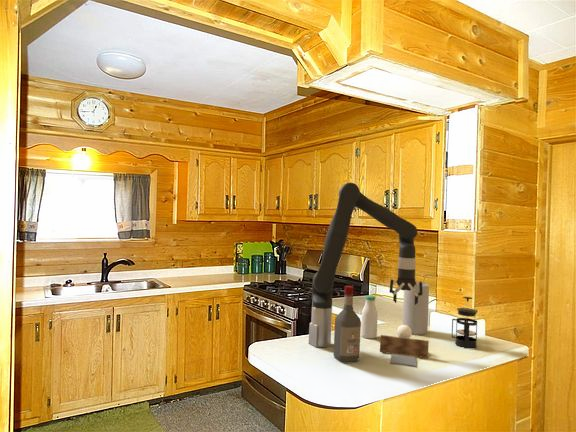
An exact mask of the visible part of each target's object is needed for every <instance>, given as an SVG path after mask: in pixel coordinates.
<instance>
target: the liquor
mask: <svg viewBox="0 0 576 432" xmlns="http://www.w3.org/2000/svg"><path fill="white" fill-rule="evenodd" d="M354 288H355V287H354V286H353V285H345V286H344V290H343V291H344V292H343V293H344V300H343V301H344V303H343V308H342V310H341V311H340V312H339V313H338V314H337V315H336V316H335V318H334V335H333V337H334V338H333V357H334V359H336V361H338V362H339V363H344V364H350V363H357V362H358V361H359V359H360V354H361V353H360V352H361V351H360V350H361V348H360V347H361V344H360V343H361V318H360V317H359V316H358V314H357V313H356V312H355V310H354V306H353V305H354Z"/></svg>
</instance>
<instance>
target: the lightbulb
mask: <svg viewBox="0 0 576 432" xmlns="http://www.w3.org/2000/svg"><path fill="white" fill-rule="evenodd" d="M396 334H397V337H403V338H411V336H412V335H413V334H412V331H411V328H410V327H409V326H407V325H403V324H401V325H399V326H398V327H397V330H396Z"/></svg>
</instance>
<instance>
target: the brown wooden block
mask: <svg viewBox="0 0 576 432" xmlns="http://www.w3.org/2000/svg"><path fill="white" fill-rule="evenodd" d="M379 339H380V343H379V352H381V354H385V355H386V354H393V355H401V356H408V357H417V358H420V359H423V360H427V359H428V358H429V340H426V339H418V338H411V337H410V338H403V337H399V336H393V335H385V334H384V335H383V334H380V338H379Z"/></svg>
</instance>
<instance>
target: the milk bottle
mask: <svg viewBox="0 0 576 432" xmlns="http://www.w3.org/2000/svg"><path fill="white" fill-rule="evenodd" d="M375 302H376V297H375V296H374V295H365V304H364V306H363V308H362V311H361V319H360V321H361V328H360V337H362V338H363V339H369V340H370V339H373V340H374V339H377V336H378V310H377V307H376V305H375Z"/></svg>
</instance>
